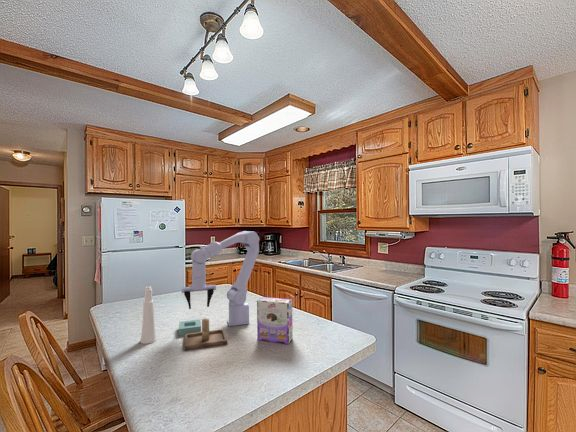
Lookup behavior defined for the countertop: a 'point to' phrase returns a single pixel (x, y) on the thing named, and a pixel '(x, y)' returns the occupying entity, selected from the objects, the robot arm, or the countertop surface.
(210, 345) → the tray
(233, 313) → the robot arm
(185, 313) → the countertop surface
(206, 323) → the pin
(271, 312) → the candy box
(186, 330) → the teal square ring
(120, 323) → the countertop surface
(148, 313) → the cosmetic bottle
